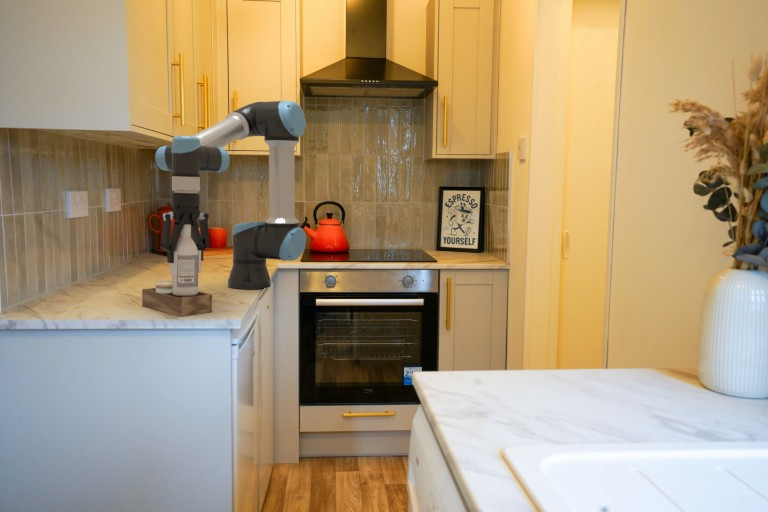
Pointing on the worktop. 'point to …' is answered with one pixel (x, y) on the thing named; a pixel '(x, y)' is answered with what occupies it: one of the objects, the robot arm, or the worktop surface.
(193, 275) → the bath foam
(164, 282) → the cream jar
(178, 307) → the caddy
